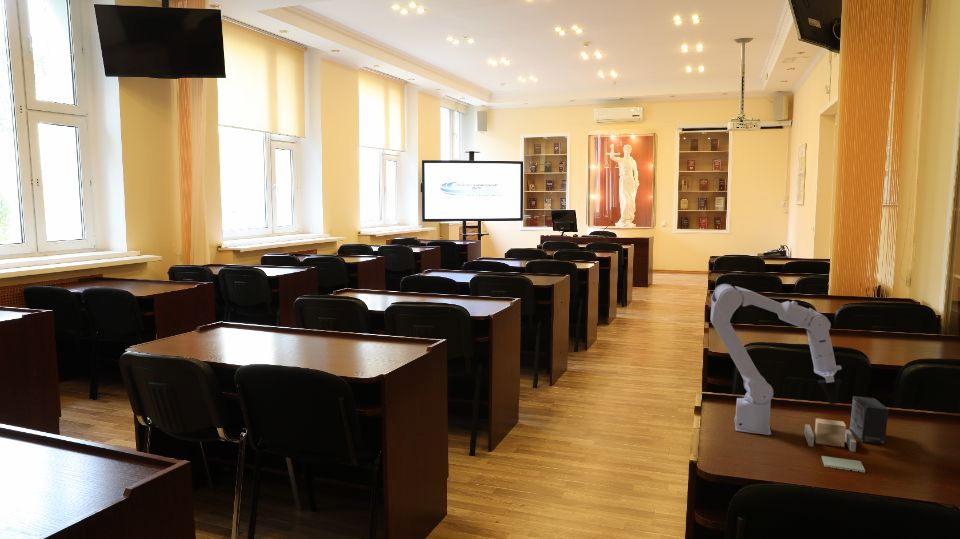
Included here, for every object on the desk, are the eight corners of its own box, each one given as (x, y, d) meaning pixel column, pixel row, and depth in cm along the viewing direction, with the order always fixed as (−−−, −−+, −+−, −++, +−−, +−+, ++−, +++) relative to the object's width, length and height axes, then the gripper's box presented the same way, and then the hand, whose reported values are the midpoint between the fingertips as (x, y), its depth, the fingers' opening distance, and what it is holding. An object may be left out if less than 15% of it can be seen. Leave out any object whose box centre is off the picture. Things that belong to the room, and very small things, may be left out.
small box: (886, 445, 184) (890, 408, 183) (861, 443, 185) (864, 406, 184) (872, 431, 194) (875, 397, 193) (848, 429, 196) (851, 395, 194)
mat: (824, 466, 169) (825, 464, 169) (821, 458, 174) (821, 455, 174) (864, 472, 166) (865, 470, 166) (860, 463, 171) (860, 461, 171)
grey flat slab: (808, 445, 182) (809, 436, 182) (804, 433, 192) (805, 424, 191) (855, 452, 179) (856, 442, 178) (848, 439, 188) (849, 429, 188)
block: (816, 443, 185) (817, 422, 184) (814, 438, 188) (815, 418, 188) (844, 447, 182) (846, 426, 181) (841, 442, 186) (843, 421, 185)
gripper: (842, 358, 180) (851, 405, 181) (833, 344, 194) (842, 388, 195) (813, 362, 183) (823, 408, 184) (807, 348, 196) (816, 391, 197)
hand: (831, 398), depth 190 cm, fingers open, 7 cm apart
